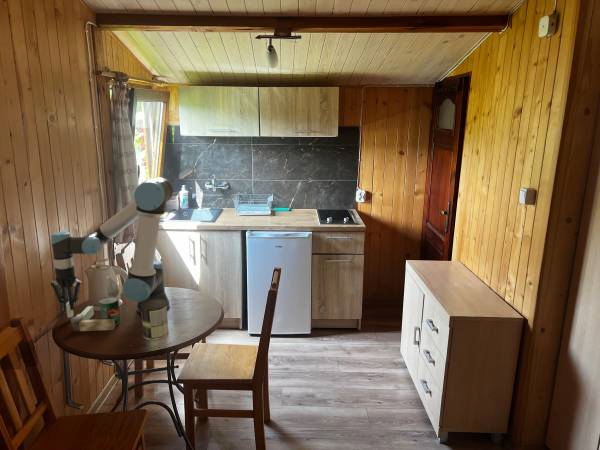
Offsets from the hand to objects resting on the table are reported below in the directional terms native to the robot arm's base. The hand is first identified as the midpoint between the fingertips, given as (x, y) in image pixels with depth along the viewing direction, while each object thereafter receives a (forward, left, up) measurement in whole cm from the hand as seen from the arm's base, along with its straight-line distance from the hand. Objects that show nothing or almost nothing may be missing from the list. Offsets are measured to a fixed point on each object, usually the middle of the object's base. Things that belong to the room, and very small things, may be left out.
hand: (70, 316), depth 197 cm
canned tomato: (-19, +4, -2) cm, 20 cm away
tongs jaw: (-7, +4, -2) cm, 8 cm away
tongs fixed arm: (-14, +11, -2) cm, 18 cm away
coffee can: (-42, +18, -2) cm, 46 cm away
